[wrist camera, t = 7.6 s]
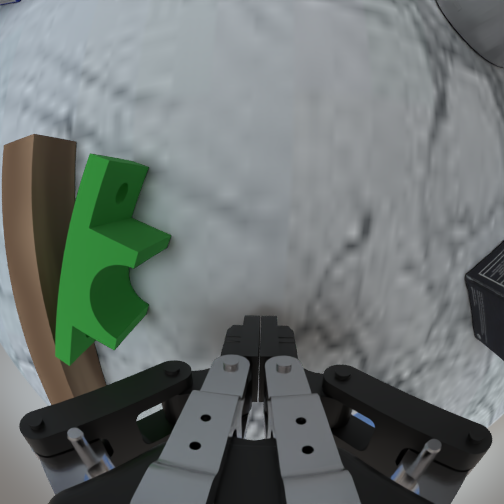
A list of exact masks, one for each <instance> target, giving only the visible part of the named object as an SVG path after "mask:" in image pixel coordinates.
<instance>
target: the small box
mask: <svg viewBox="0 0 504 504" xmlns="http://www.w3.org/2000/svg"><path fill="white" fill-rule="evenodd" d="M466 281H467V287H468V290H469V296H470V301H471V308H472V316H473V327H474V332H475V337H476V338H477V339H478V340H480V341H481V342H482V343H483V344H484V345H486V346H487V347H488V348H489V349H491V350H492V351H493V352H494V353H495V354H496V355H498V356H499V357H500V358H501V359H502V360H503V361H504V242H503V243H501V244H500V245H499V246H498V247H497V248H496V249H495V250H494V251H493V252H492V253H491V254H490V255H488V256H487V257H486V258H485V259H484V260H483V261H482V262H481V263H479V264H478V265H477V266H476V267H475V268H474V269H472V270H471V271H470V272H469V273H467V274H466Z"/></svg>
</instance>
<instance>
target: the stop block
mask: <svg viewBox="0 0 504 504" xmlns="http://www.w3.org/2000/svg"><path fill="white" fill-rule="evenodd" d="M75 153H76V142H75V141H70V140H65V139H59V138H54V137H49V136H43V135H37V134H33V135H30V136H27V137H24V138H22V139H19V140H16V141H14V142H11V143H9V144H6V145H4V150H3V166H2V212H3V228H4V239H5V248H6V255H7V262H8V269H9V274H10V280H11V285H12V290H13V295H14V299H15V303H16V308H17V312H18V315H19V319H20V323H21V326H22V330H23V333H24V336H25V339H26V343H27V346H28V349H29V352H30V354H31V357H32V360H33V363H34V365H35V368H36V371H37V373H38V376H39V378H40V380H41V383H42V385H43V387H44V390H45V392H46V394H47V396H48V399H49V401H50V403H51V405H53V404H56V403H59V402H62V401H65V400H68V399H71V398H74V397H77V396H80V395H82V394H85V393H88V392H91V391H93V390H96V389H99V388H101V387H104V386H106V383H105V380H104V376H103V373H102V370H101V366H100V363H99V359H98V356H97V352H96V348H95V344H94V343H93V344H92V345H91V346H90V347H89V348H88V349H87V350H86V351H85V352H83V353H82V354H81V355H80V356H79V357H78V358H77V359H76V360H75V361H74V362H73V363H72V364H71V365H70V366H69V365H67V364H66V363H64V362H63V361H61V360H60V359H58V358H57V357H56V356H55V337H56V316H57V304H58V293H59V284H60V277H61V269H62V263H63V257H64V251H65V245H66V240H67V235H68V230H69V226H70V221H71V217H72V213H73V209H74V205H75Z"/></svg>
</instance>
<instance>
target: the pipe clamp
mask: <svg viewBox="0 0 504 504" xmlns="http://www.w3.org/2000/svg"><path fill="white" fill-rule="evenodd" d="M148 169H149V167H147V166H144V165H142V164H139V163H136V162H133V161H129V160H124V159H119V158H113V157H108V156H102V155H96V154H90V155H89V158H88V161H87V164H86V167H85V170H84V173H83V176H82V180H81V183H80V186H79V190H78V193H77V197H76V201H75V205H74V209H73V213H72V217H71V221H70V226H69V230H68V235H67V240H66V245H65V251H64V257H63V263H62V269H61V277H60V284H59V293H58V304H57V316H56V337H55V356H56V357H57V358H58V359H60V360H61V361H63V362H64V363H66V364H67V365H69V366H70V365H71V364H72V363H73V362H74V361H75V360H76V359H77V358H78V357H79V356H80V355H81V354H82V353H83V352H85V351H86V350H87V349H88V348H89V347H90V346H91V345H92V344H93V343H94V342H95V341H96V340H97V341H99V342H100V343H102V344H104V345H106V346H107V347H109V348H111V349H113V350H115V349H116V348H117V347H118V346H119V345H120V343H121V342H122V341H123V340H124V339H125V338H126V337H127V335H128V334H129V333H130V332H131V331H132V330H133V329H134V328H135V326H136V325H137V324H138V323H139V322H140V321H141V320H142V319H143V317H144V316H145V315H146V313H147V310H148V306H149V304H147V303H146V302H144V301H143V300H142V299H140V298H139V297H138V295H137V294H136V293H135V291H134V290H133V288H132V286H131V283H130V279H129V267H131V268H133V269H134V268H135V267H137V266H139V265H140V264H142V263H143V262H145V261H146V260H148V259H150V258H151V257H153V256H154V255H156V254H158V253H159V252H161V251H163V250H164V249H166V248H167V246H168V243H169V241H170V238H171V235H170V234H167V233H165V232H163V231H160V230H158V229H156V228H154V227H151V226H149V225H147V224H145V223H142V222H140V221H138V220H136V219H133V218H132V215H133V211H134V208H135V205H136V202H137V199H138V196H139V194H140V191H141V188H142V185H143V182H144V180H145V177H146V174H147V171H148Z"/></svg>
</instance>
